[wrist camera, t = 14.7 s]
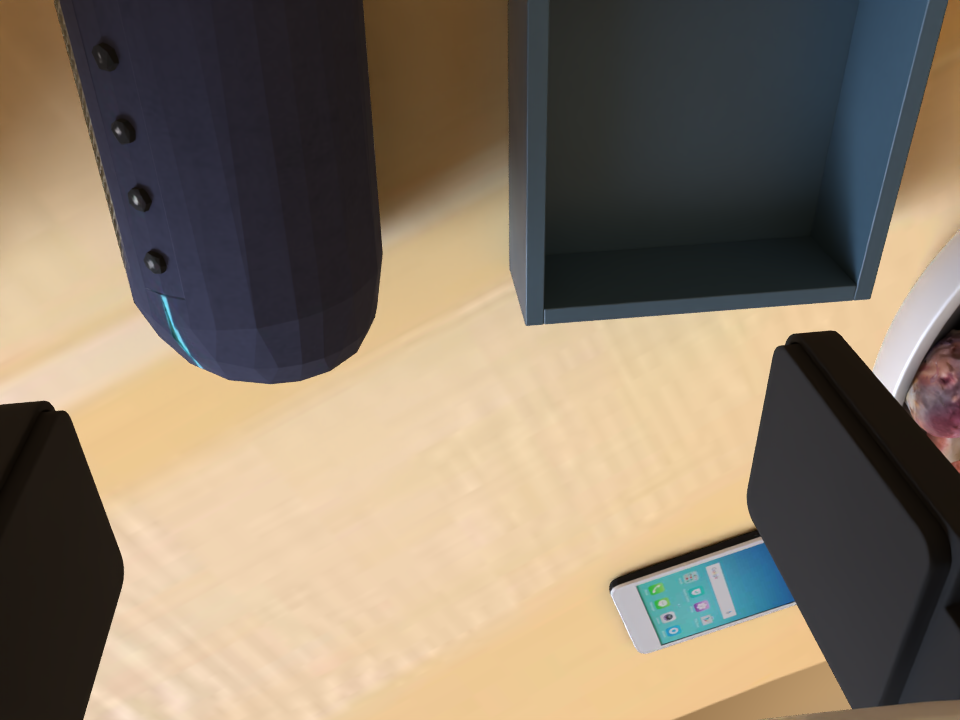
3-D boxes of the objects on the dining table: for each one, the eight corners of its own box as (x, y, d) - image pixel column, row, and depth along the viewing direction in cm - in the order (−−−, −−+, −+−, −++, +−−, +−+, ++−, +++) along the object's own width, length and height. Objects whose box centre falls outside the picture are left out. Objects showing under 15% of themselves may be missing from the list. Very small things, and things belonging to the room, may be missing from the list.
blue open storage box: (509, 269, 42) (525, 326, 38) (507, -63, 34) (527, -38, 30) (820, 246, 43) (870, 299, 39) (890, -80, 35) (964, -59, 31)
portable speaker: (11, -406, 27) (-146, -483, 19) (334, -403, 28) (320, -477, 20) (175, 296, 41) (126, 427, 33) (387, 284, 42) (391, 409, 34)
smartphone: (608, 590, 55) (842, 510, 53) (605, 580, 55) (836, 501, 53) (639, 657, 59) (857, 585, 57) (635, 646, 59) (851, 575, 58)
